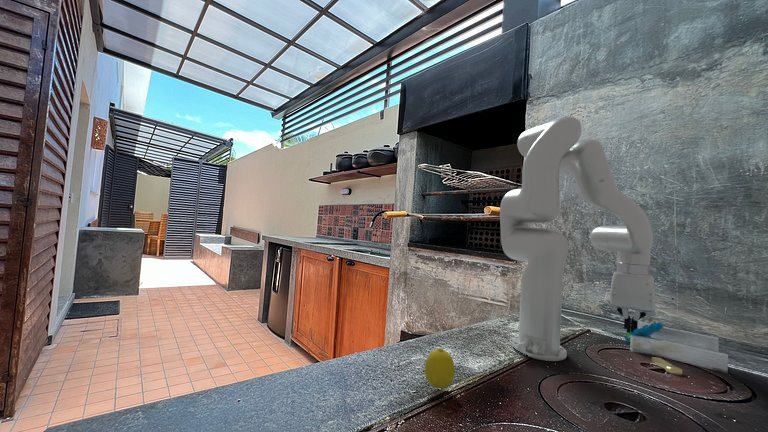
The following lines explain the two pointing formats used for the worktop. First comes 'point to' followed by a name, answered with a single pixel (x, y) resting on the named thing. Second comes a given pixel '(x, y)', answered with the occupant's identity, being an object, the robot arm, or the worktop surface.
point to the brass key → (667, 366)
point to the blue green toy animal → (644, 331)
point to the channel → (681, 347)
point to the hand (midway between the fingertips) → (630, 332)
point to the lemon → (439, 368)
